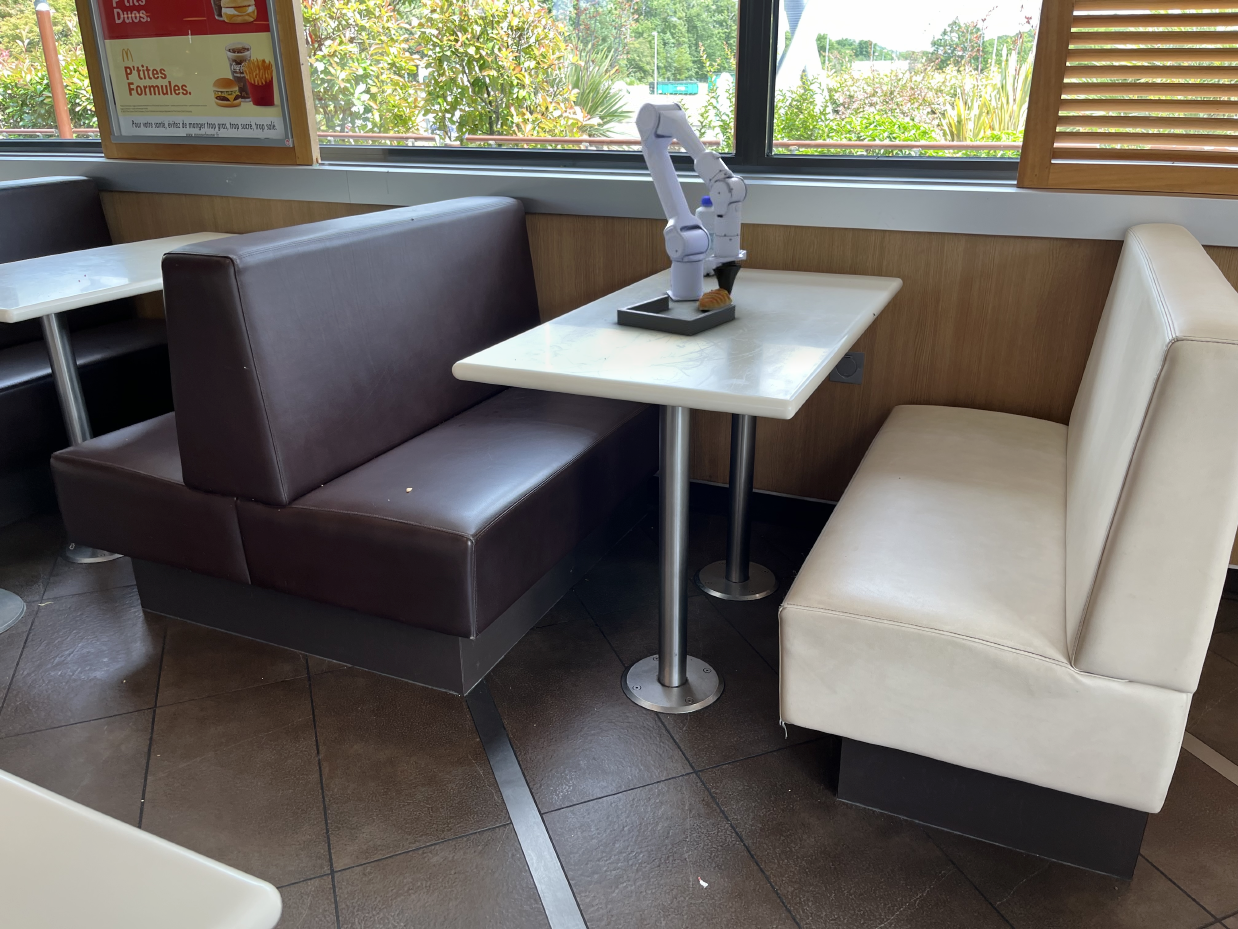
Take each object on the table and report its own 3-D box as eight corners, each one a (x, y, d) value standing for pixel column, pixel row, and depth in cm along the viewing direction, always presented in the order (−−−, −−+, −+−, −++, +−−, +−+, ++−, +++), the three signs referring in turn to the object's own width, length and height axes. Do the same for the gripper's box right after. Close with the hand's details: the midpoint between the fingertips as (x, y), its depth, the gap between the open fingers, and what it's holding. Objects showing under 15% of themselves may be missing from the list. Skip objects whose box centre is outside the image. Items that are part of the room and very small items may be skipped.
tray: (664, 308, 200) (664, 294, 199) (735, 318, 190) (735, 304, 189) (617, 323, 187) (616, 309, 186) (690, 335, 177) (690, 320, 176)
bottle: (716, 276, 234) (719, 197, 226) (691, 276, 235) (693, 197, 228) (720, 272, 240) (722, 194, 232) (695, 271, 241) (697, 194, 234)
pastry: (720, 314, 194) (720, 296, 192) (691, 311, 196) (691, 294, 195) (733, 305, 202) (734, 288, 200) (705, 303, 204) (705, 286, 203)
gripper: (726, 240, 189) (724, 303, 195) (759, 231, 200) (756, 292, 205) (698, 237, 193) (696, 299, 199) (731, 229, 204) (729, 288, 209)
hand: (725, 295), depth 202 cm, fingers closed
